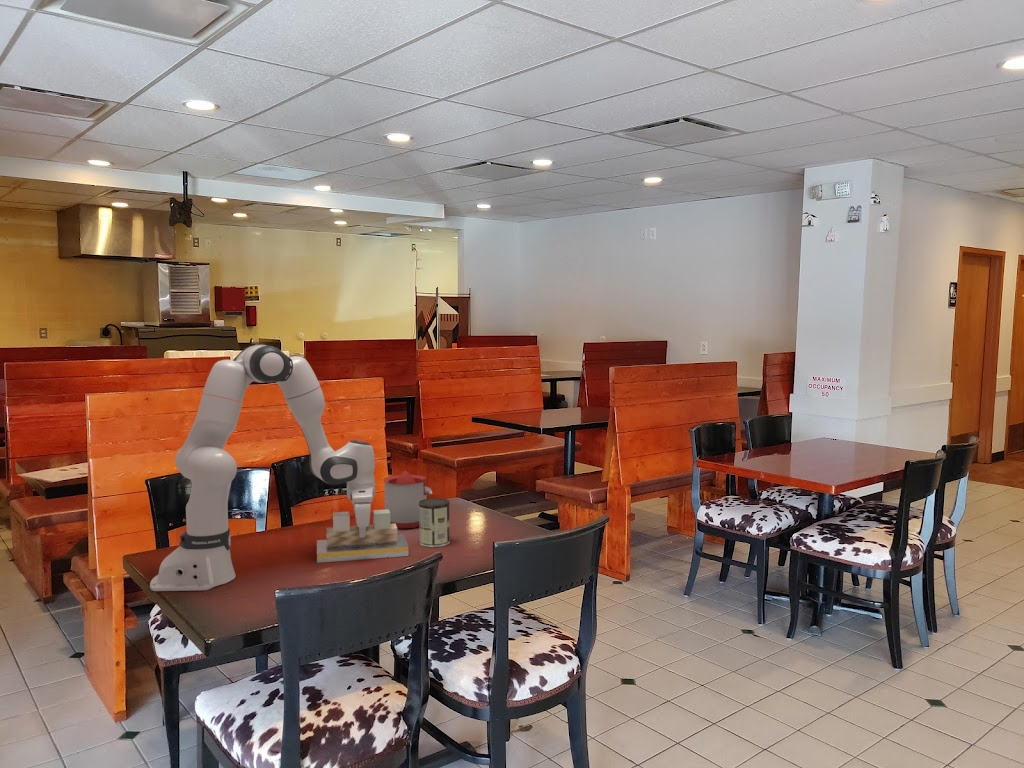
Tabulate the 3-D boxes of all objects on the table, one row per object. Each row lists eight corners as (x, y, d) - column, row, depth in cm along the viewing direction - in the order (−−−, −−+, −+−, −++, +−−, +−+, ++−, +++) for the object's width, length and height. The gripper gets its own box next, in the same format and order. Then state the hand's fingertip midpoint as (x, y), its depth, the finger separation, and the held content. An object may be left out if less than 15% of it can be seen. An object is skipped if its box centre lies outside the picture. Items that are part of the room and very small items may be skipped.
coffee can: (431, 536, 262) (430, 496, 261) (455, 541, 257) (455, 500, 256) (412, 544, 254) (412, 502, 252) (437, 549, 248) (437, 506, 247)
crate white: (333, 532, 239) (333, 516, 239) (333, 527, 244) (332, 512, 244) (349, 531, 241) (349, 515, 240) (349, 526, 246) (348, 511, 245)
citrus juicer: (429, 531, 269) (428, 475, 267) (380, 530, 270) (379, 475, 268) (435, 519, 285) (434, 466, 283) (388, 519, 285) (387, 466, 283)
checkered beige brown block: (326, 545, 239) (326, 533, 238) (326, 540, 245) (326, 527, 244) (397, 540, 244) (397, 528, 244) (395, 535, 250) (395, 523, 250)
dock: (317, 563, 234) (316, 553, 234) (317, 549, 248) (317, 540, 248) (408, 556, 241) (408, 546, 241) (403, 543, 255) (403, 534, 255)
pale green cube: (374, 529, 242) (374, 514, 242) (373, 525, 247) (373, 510, 247) (390, 528, 244) (390, 513, 243) (389, 524, 249) (388, 509, 248)
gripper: (349, 484, 252) (350, 525, 253) (352, 498, 232) (352, 543, 234) (369, 483, 254) (369, 524, 255) (373, 497, 234) (373, 542, 235)
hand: (361, 533), depth 244 cm, fingers closed on checkered beige brown block, 6 cm apart
